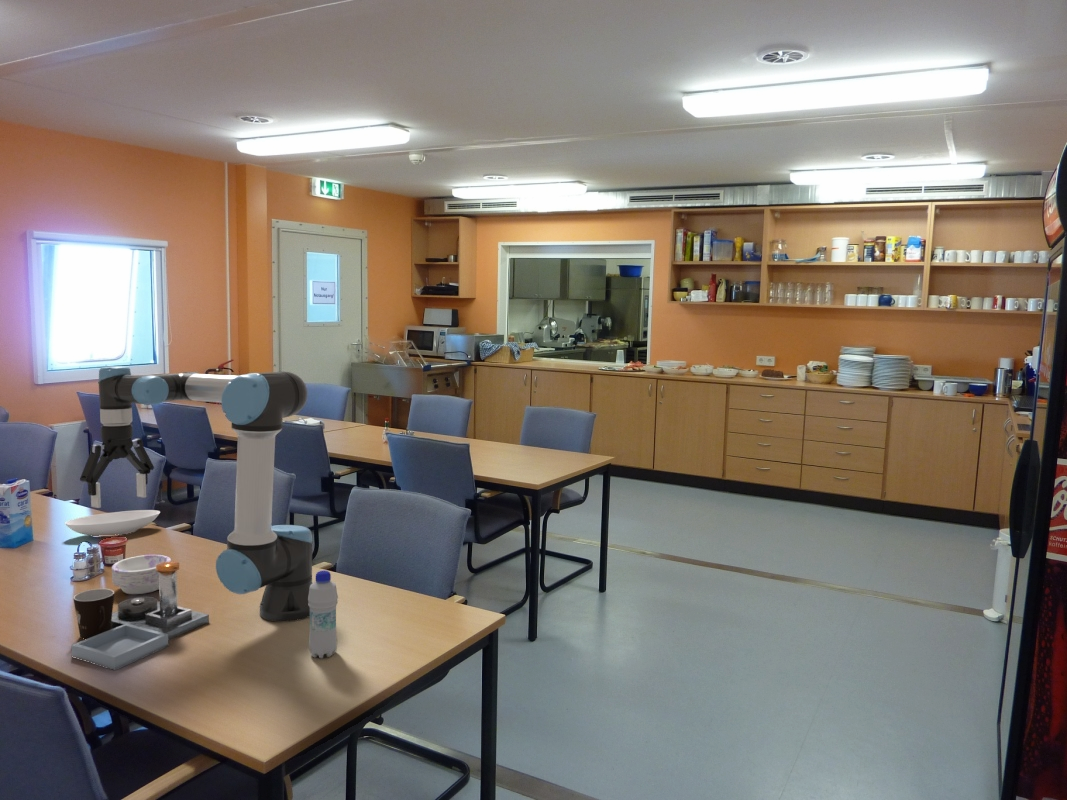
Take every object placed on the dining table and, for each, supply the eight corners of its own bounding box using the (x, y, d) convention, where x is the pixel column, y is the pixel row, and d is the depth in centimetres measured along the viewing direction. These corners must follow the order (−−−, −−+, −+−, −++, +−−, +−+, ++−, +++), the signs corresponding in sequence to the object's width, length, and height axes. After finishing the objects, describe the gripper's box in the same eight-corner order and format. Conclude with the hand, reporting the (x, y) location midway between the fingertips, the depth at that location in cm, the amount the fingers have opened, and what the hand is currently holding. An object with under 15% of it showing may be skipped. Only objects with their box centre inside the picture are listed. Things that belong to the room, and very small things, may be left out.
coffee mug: (78, 629, 188) (77, 590, 187) (118, 625, 191) (116, 587, 190) (68, 649, 177) (66, 607, 176) (110, 644, 180) (109, 603, 179)
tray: (168, 646, 180) (167, 634, 179) (114, 670, 167) (114, 657, 167) (126, 635, 185) (126, 623, 185) (71, 657, 173) (71, 644, 172)
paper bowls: (99, 595, 211) (98, 567, 210) (139, 577, 226) (139, 551, 225) (146, 601, 208) (145, 573, 207) (184, 583, 222) (183, 556, 222)
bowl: (155, 523, 285) (154, 507, 285) (165, 532, 274) (165, 515, 273) (62, 535, 266) (61, 518, 266) (69, 546, 255) (68, 528, 254)
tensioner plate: (209, 622, 195) (208, 602, 194) (162, 642, 182) (162, 621, 181) (147, 607, 203) (147, 588, 203) (99, 625, 191) (99, 605, 190)
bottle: (326, 645, 182) (326, 564, 180) (343, 653, 178) (343, 571, 176) (302, 654, 177) (301, 571, 175) (319, 663, 173) (319, 578, 171)
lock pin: (185, 617, 192) (183, 563, 190) (167, 625, 187) (166, 569, 186) (170, 614, 194) (168, 560, 192) (152, 621, 189) (151, 566, 188)
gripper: (147, 418, 217) (149, 491, 219) (62, 428, 194) (65, 510, 196) (166, 420, 213) (168, 494, 216) (81, 430, 191) (85, 513, 193)
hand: (119, 501), depth 206 cm, fingers open, 13 cm apart
